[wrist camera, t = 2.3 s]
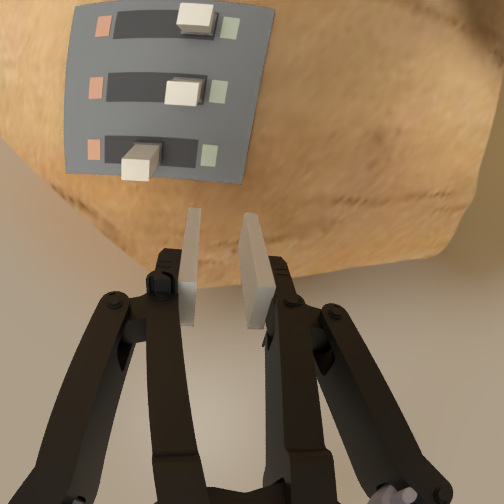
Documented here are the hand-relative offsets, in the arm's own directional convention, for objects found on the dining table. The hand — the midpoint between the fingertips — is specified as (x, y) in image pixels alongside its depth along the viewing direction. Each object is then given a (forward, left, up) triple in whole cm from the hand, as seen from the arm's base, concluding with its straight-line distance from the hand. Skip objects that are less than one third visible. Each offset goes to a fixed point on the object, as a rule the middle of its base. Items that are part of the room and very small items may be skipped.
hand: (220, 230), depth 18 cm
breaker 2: (-7, -4, -15) cm, 17 cm away
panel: (-7, -8, -17) cm, 19 cm away
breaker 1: (-14, -4, -15) cm, 21 cm away
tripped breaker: (0, -8, -15) cm, 17 cm away
